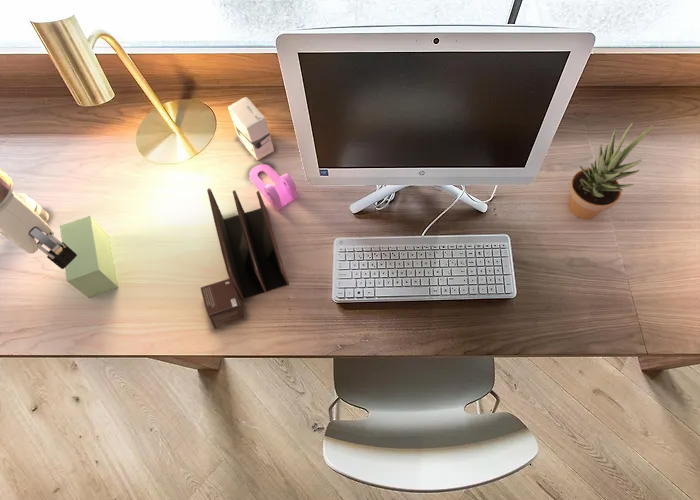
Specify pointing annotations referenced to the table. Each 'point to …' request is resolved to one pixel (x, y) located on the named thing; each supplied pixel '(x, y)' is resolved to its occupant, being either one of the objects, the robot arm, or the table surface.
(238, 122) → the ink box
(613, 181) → the potted plant
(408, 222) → the table surface
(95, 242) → the tissue box
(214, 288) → the box
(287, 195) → the bracket
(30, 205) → the pill bottle
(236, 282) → the letter holder
